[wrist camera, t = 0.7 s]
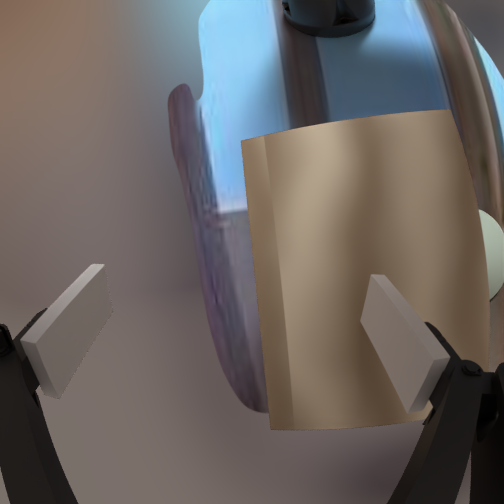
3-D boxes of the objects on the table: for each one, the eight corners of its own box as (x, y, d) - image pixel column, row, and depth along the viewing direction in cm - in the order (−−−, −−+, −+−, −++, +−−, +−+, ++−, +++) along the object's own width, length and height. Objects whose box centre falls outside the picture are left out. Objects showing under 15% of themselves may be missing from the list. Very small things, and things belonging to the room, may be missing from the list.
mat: (448, 190, 32) (449, 189, 32) (518, 238, 28) (520, 237, 28) (408, 277, 33) (409, 278, 33) (482, 323, 30) (483, 324, 29)
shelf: (406, 190, 34) (450, 109, 15) (423, 339, 32) (485, 406, 13) (299, 205, 38) (240, 140, 19) (315, 352, 36) (270, 429, 17)
